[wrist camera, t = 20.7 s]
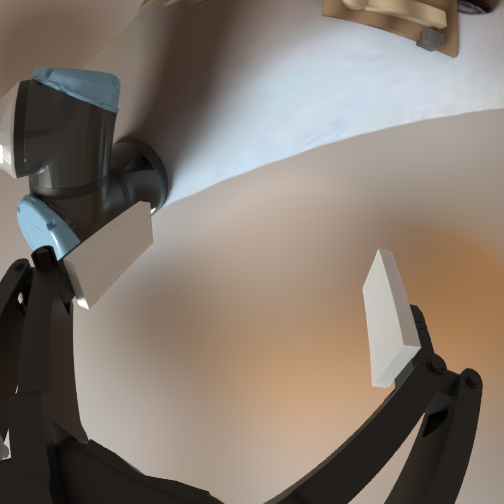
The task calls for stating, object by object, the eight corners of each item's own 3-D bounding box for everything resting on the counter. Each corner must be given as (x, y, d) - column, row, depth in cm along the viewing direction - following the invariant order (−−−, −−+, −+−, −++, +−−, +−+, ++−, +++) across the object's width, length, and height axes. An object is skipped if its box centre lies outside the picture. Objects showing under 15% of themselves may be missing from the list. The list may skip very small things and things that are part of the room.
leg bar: (340, 9, 23) (342, 0, 20) (339, -11, 21) (341, -21, 18) (438, 33, 20) (448, 28, 17) (437, 13, 18) (446, 7, 15)
